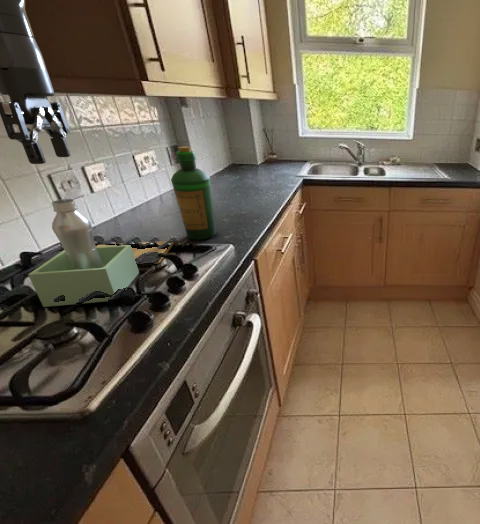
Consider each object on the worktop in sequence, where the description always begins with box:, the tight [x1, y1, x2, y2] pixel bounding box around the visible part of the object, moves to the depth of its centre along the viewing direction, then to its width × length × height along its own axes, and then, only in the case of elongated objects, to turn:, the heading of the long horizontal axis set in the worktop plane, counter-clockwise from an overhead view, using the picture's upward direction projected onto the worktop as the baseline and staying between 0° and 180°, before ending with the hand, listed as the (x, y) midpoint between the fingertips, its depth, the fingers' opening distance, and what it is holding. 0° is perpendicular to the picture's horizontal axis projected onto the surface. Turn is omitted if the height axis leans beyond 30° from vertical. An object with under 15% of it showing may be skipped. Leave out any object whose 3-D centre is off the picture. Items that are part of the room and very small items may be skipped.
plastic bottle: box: [51, 198, 105, 270], centre depth 73 cm, size 6×7×20 cm
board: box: [95, 240, 174, 265], centre depth 94 cm, size 20×14×1 cm
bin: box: [27, 245, 140, 308], centre depth 76 cm, size 14×14×8 cm
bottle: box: [170, 146, 217, 241], centre depth 103 cm, size 11×11×28 cm
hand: (51, 160), depth 65 cm, fingers open, 8 cm apart
